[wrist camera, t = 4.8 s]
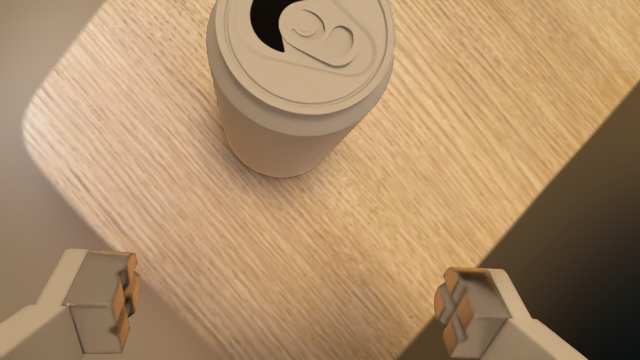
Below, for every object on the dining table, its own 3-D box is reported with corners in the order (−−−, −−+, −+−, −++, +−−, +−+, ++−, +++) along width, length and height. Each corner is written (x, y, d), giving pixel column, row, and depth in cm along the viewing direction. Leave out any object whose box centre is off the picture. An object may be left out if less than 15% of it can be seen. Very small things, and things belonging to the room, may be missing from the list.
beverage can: (256, 53, 25) (262, -108, 13) (352, 105, 26) (438, -7, 14) (203, 147, 24) (159, 59, 12) (305, 199, 24) (356, 162, 13)
